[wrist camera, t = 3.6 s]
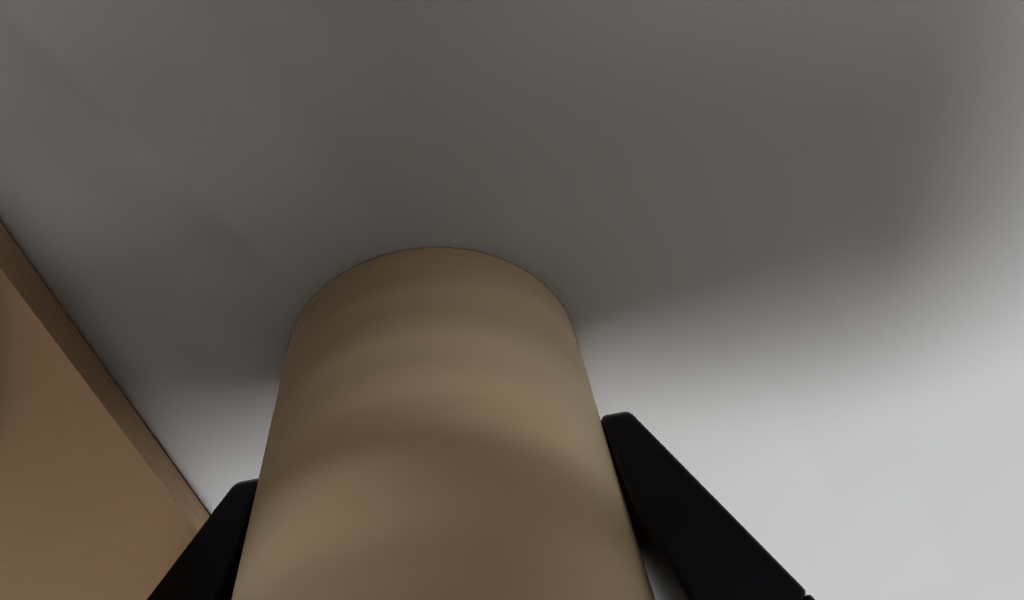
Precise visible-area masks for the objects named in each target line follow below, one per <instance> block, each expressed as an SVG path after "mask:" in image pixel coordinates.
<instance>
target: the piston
mask: <svg viewBox="0 0 1024 600" xmlns="http://www.w3.org/2000/svg"><path fill="white" fill-rule="evenodd" d="M231 600H655V598H654V594H653V591H652V588H651V584H650V581H649V578H648V574H647V571H646V568H645V565H644V561H643V558H642V555H641V551H640V548H639V545H638V541H637V538H636V535H635V532H634V528H633V525H632V522H631V518H630V515H629V512H628V508H627V505H626V502H625V499H624V496H623V492H622V489H621V486H620V482H619V479H618V476H617V472H616V469H615V466H614V463H613V459H612V456H611V453H610V449H609V446H608V443H607V439H606V436H605V433H604V430H603V426H602V423H601V419H600V416H599V413H598V410H597V406H596V403H595V400H594V396H593V393H592V390H591V386H590V383H589V380H588V377H587V373H586V370H585V367H584V363H583V360H582V357H581V353H580V350H579V347H578V344H577V340H576V337H575V334H574V330H573V327H572V325H571V322H570V319H569V317H568V314H567V313H566V311H565V309H564V308H563V306H562V304H561V303H560V301H559V300H558V299H557V298H556V296H555V295H554V294H553V293H552V292H551V290H550V289H549V288H548V287H546V286H545V285H544V284H543V283H542V282H541V281H540V280H539V279H537V278H536V277H534V276H533V275H531V274H530V273H528V272H527V271H525V270H524V269H522V268H520V267H518V266H516V265H514V264H512V263H510V262H508V261H506V260H503V259H500V258H497V257H494V256H491V255H488V254H485V253H480V252H475V251H471V250H465V249H455V248H419V249H411V250H403V251H399V252H394V253H390V254H386V255H382V256H379V257H376V258H374V259H371V260H368V261H365V262H363V263H361V264H359V265H357V266H355V267H353V268H351V269H349V270H347V271H345V272H343V273H342V274H341V275H339V276H338V277H336V278H335V279H333V280H332V281H330V282H329V283H328V284H327V285H325V286H324V287H323V288H322V289H321V290H320V291H319V292H318V293H317V294H315V296H314V297H313V298H312V299H311V301H310V302H309V303H308V304H307V305H306V307H305V308H304V310H303V311H302V313H301V315H300V316H299V318H298V320H297V322H296V324H295V327H294V329H293V332H292V335H291V338H290V342H289V347H288V351H287V356H286V360H285V364H284V369H283V373H282V378H281V382H280V387H279V391H278V396H277V400H276V404H275V409H274V413H273V418H272V422H271V427H270V431H269V435H268V440H267V444H266V449H265V453H264V458H263V462H262V466H261V471H260V475H259V480H258V484H257V489H256V493H255V497H254V502H253V506H252V511H251V515H250V520H249V524H248V528H247V533H246V537H245V542H244V546H243V551H242V555H241V559H240V564H239V568H238V573H237V577H236V582H235V586H234V590H233V595H232V599H231Z"/></svg>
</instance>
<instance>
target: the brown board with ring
mask: <svg viewBox="0 0 1024 600" xmlns="http://www.w3.org/2000/svg"><path fill="white" fill-rule="evenodd" d="M209 517H210V515H209V514H208V512H207V511H206V510H205V508H204V507H203V505H202V504H201V503H200V501H199V500H198V498H197V497H196V496H195V494H194V493H193V491H192V490H191V489H190V487H189V486H188V484H187V483H186V482H185V480H184V479H183V477H182V476H181V475H180V473H179V472H178V470H177V469H176V468H175V466H174V465H173V463H172V462H171V461H170V459H169V458H168V456H167V455H166V453H165V452H164V451H163V449H162V448H161V446H160V445H159V444H158V442H157V441H156V439H155V438H154V437H153V435H152V434H151V432H150V431H149V430H148V428H147V427H146V425H145V424H144V423H143V421H142V420H141V418H140V417H139V416H138V414H137V413H136V411H135V410H134V409H133V407H132V406H131V404H130V403H129V402H128V400H127V399H126V397H125V396H124V395H123V393H122V392H121V390H120V389H119V388H118V386H117V385H116V383H115V382H114V380H113V379H112V378H111V376H110V375H109V373H108V372H107V371H106V369H105V368H104V366H103V365H102V364H101V362H100V361H99V359H98V358H97V357H96V355H95V354H94V352H93V351H92V350H91V348H90V347H89V345H88V344H87V343H86V341H85V340H84V338H83V337H82V336H81V334H80V333H79V331H78V330H77V329H76V327H75V326H74V324H73V323H72V322H71V320H70V319H69V317H68V316H67V315H66V313H65V312H64V310H63V309H62V307H61V306H60V305H59V303H58V302H57V300H56V299H55V298H54V296H53V295H52V293H51V292H50V291H49V289H48V288H47V286H46V285H45V284H44V282H43V281H42V279H41V278H40V277H39V275H38V274H37V272H36V271H35V270H34V268H33V267H32V265H31V264H30V263H29V261H28V260H27V258H26V257H25V256H24V254H23V253H22V251H21V250H20V249H19V247H18V246H17V244H16V243H15V241H14V240H13V239H12V237H11V236H10V234H9V233H8V232H7V230H6V229H5V227H4V226H3V225H2V223H1V222H0V600H147V598H148V597H149V596H150V594H151V593H152V592H153V590H154V589H155V588H156V586H157V585H158V584H159V583H160V581H161V580H162V579H163V577H164V576H165V575H166V573H167V572H168V571H169V569H170V568H171V567H172V565H173V564H174V563H175V561H176V560H177V559H178V558H179V556H180V555H181V554H182V552H183V551H184V550H185V548H186V547H187V546H188V544H189V543H190V542H191V540H192V539H193V538H194V536H195V535H196V534H197V532H198V531H199V530H200V529H201V527H202V526H203V525H204V523H205V522H206V521H207V519H208V518H209Z"/></svg>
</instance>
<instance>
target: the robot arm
mask: <svg viewBox="0 0 1024 600" xmlns="http://www.w3.org/2000/svg"><path fill="white" fill-rule="evenodd" d="M601 423H602V426H603V430H604V433H605V436H606V439H607V443H608V446H609V449H610V453H611V456H612V459H613V463H614V466H615V469H616V472H617V476H618V479H619V482H620V486H621V489H622V492H623V496H624V499H625V502H626V505H627V508H628V512H629V515H630V518H631V522H632V525H633V528H634V532H635V535H636V538H637V541H638V545H639V548H640V551H641V555H642V558H643V561H644V565H645V568H646V571H647V574H648V578H649V581H650V584H651V588H652V591H653V594H654V598H655V600H815V599H814V598H813V597H812V596H811V595H806V596H805V589H804V588H803V587H802V586H801V585H800V584H799V583H798V582H797V581H796V580H795V579H794V578H793V577H792V576H791V575H790V574H789V573H788V572H787V571H786V570H785V569H784V568H783V567H782V566H781V565H780V564H779V563H778V562H777V561H776V560H775V559H774V558H773V557H772V556H771V555H770V554H769V553H768V552H767V551H766V550H765V549H764V547H763V546H762V545H761V544H760V543H759V542H758V541H757V540H756V539H755V538H754V537H753V536H752V535H751V534H750V533H749V532H748V531H747V530H746V529H745V528H744V527H743V526H742V525H741V524H740V523H739V522H738V521H737V520H736V519H735V518H734V517H733V516H732V515H731V514H730V513H729V512H728V511H727V510H726V509H725V508H724V507H723V506H722V505H721V504H720V503H719V502H718V501H717V500H716V499H715V498H714V497H713V496H712V495H711V494H710V493H709V492H708V491H707V490H706V489H705V488H704V487H703V486H702V485H701V483H700V482H699V481H698V480H697V479H696V478H695V477H694V476H693V475H692V474H691V473H690V472H689V471H688V470H687V469H686V468H685V467H684V466H683V465H682V464H681V463H680V462H679V461H678V460H677V459H676V458H675V457H674V456H673V455H672V454H671V453H670V452H669V451H668V450H667V449H666V448H665V447H664V446H663V445H662V444H661V443H660V442H659V441H658V440H657V439H656V438H655V437H654V436H653V435H652V434H651V433H650V432H649V431H648V430H647V429H646V428H645V427H644V426H643V425H642V424H641V423H640V422H639V421H638V419H637V418H636V417H635V416H633V415H632V414H631V413H629V412H620V413H615V414H609V415H605V416H604V417H603V418H602V420H601ZM258 480H259V478H258V479H253V480H247V481H242V482H239V483H237V484H235V485H234V486H233V487H232V488H231V489H230V490H229V492H228V493H227V494H226V496H225V497H224V498H223V500H222V501H221V502H220V504H219V505H218V506H217V507H216V509H215V510H214V511H213V513H212V514H211V515H210V517H209V518H208V519H207V521H206V522H205V523H204V525H203V526H202V527H201V529H200V530H199V531H198V532H197V534H196V535H195V536H194V538H193V539H192V540H191V542H190V543H189V544H188V546H187V547H186V548H185V550H184V551H183V552H182V554H181V555H180V556H179V558H178V559H177V560H176V561H175V563H174V564H173V565H172V567H171V568H170V569H169V571H168V572H167V573H166V575H165V576H164V577H163V579H162V580H161V581H160V583H159V584H158V585H157V586H156V588H155V589H154V590H153V592H152V593H151V594H150V596H149V597H148V598H147V600H231V599H232V595H233V590H234V586H235V582H236V577H237V573H238V568H239V564H240V559H241V555H242V551H243V546H244V542H245V537H246V533H247V528H248V524H249V520H250V515H251V511H252V506H253V502H254V497H255V493H256V489H257V484H258Z"/></svg>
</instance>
